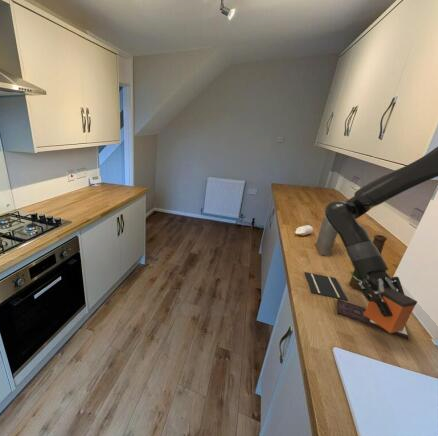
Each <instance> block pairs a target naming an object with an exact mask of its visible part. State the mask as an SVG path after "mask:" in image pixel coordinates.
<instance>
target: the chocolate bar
mask: <svg viewBox="0 0 438 436" xmlns="http://www.w3.org/2000/svg"><path fill="white" fill-rule="evenodd" d="M366 308H367V307H362V306H360V305H357V304H354V303H351V302H348V301H346V300H341V299H337V306H336V309H337V310H336V311H337V312H336V313H337V315H339V316H342V317H345V318H348V319H350V320H353V321H356V322H358V323H361V324H364V325H367V326H370V327H372V328H374V329H378V330H381V331H383V332H386V333H389V334H391V335H395V336H397V337H400V338H403V339H405V340H408V339H409V335H408V332H407V329H406V326H405V327H404V328H403V330H402V331H398V332H393V333H390V332H388V331H387V330H385V329H384V328H382V327H381V326H379V325H378V324H376V323H375V322H374V321H372V320H371V319H369V318H368V317H366V316H365V315H364V313H365V310H366Z"/></svg>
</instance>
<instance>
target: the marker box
mask: <svg viewBox="0 0 438 436" xmlns="http://www.w3.org/2000/svg"><path fill="white" fill-rule="evenodd" d="M376 291H379V289H376V290H374V292H376ZM404 294H405V293H404ZM404 294H402V293H400V292H399V291H398V289H397V290H393V289H390V288H386V289H384V291H383V296H384V298H385V302H386V303H387V305H388V307H389V309H390V311H391V312H392V314H393V316H389V317H384V316H383V315H382V314H381V312H380V310H379V308H378V306H377V304H376V303H374V302H369V301H368V303H367V306H366V307H365V308H366V310H365V313H364V315H365V316H366V317H368V318H369V319H371V320H372V321H374V322H375V323H376V324H378V325H379V326H381V327H382V328H384V329H385V330H387V331H388V332H387V333H389V332H390V333H389V334H391V333H393V332H398V331H402V330H403V328H404V327H405V328H406V325H407V323H408V321H409V319H410V316H411V315H412V313H413V310H414V308H415V306H416V305H417V303H418V301H417V300H416V299H413V298H411V297H410V296H408V295H406V294H405V295H404ZM377 296H378V298H379V295H377ZM370 297H372V296H371V295H370ZM385 302H384V303H385Z"/></svg>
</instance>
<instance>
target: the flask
mask: <svg viewBox="0 0 438 436" xmlns="http://www.w3.org/2000/svg"><path fill="white" fill-rule="evenodd" d="M337 235H338V233H337V232H336V231H335V229H334V228H333V227H332V225H331V224H330V223H329V221H328V219H327V217H326V216H323V220H322V222H321V226H320V229H319V233H318V236H317V240H316V243H315V246H316V247H317V249H318V253H319V255H321V256H324V257H329V256H331V254H332V250H333V248H334V245H335V242H336V238H337Z"/></svg>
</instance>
